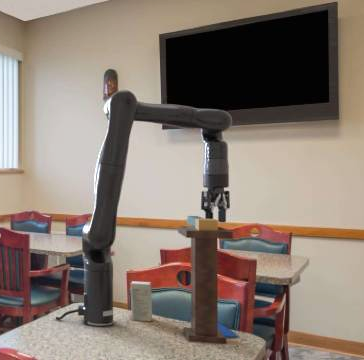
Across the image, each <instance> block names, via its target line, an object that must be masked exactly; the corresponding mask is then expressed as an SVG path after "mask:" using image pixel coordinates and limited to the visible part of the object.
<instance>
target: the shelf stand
mask: <svg viewBox="0 0 364 360" xmlns="http://www.w3.org/2000/svg"><path fill="white" fill-rule="evenodd" d="M177 233H178V234H180V235H181V236H183V237H185V238H186V239H190V327H187V326H186V327H185V326H184V327H183V328H182V329H183V330H182V331H183V332H182V333H183V334H184V336H185V338H186V339H187V340H188V342H200V343H214V344H215V343H216V344H227V338H226V337H225V336H224V335H223V334H222V332H221V331H220V330H219V329H218V322H219V321H218V320H219V315H218V314H219V313H218V311H219V309H218V308H219V307H218V305H219V302H218V301H219V300H218V299H219V298H218V293H219V291H218V287H219V285H218V281H219V280H218V275H219V274H218V269H219V268H218V261H219V259H218V255H219V254H218V250H219V249H218V242H219V241H218V239H221V240H222V239H223V240H227V239H228V240H233V239H234V232H233V230H230V229H227V228H224V227H221V226H218V231H205V230H197V229H195V227H194V226H192V225H178V226H177Z"/></svg>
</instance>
